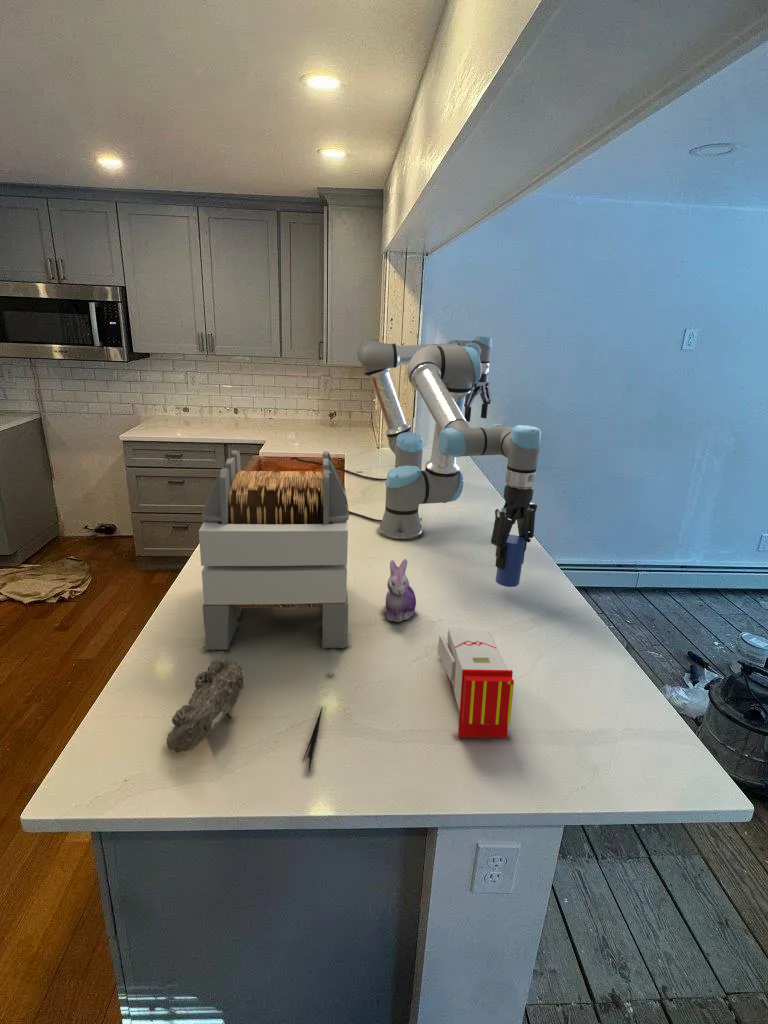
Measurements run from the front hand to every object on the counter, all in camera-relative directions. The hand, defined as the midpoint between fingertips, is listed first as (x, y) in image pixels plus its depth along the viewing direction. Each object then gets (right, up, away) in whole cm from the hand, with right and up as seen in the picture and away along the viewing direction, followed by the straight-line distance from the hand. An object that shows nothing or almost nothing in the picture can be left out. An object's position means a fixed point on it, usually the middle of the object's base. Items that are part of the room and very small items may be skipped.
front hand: (509, 564), depth 157 cm
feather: (-47, -25, -48) cm, 72 cm away
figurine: (-31, -12, -9) cm, 34 cm away
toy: (-17, -23, -38) cm, 48 cm away
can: (0, -5, +2) cm, 5 cm away
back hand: (+8, +57, +104) cm, 119 cm away
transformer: (-61, -11, -12) cm, 63 cm away
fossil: (-67, -24, -49) cm, 87 cm away
